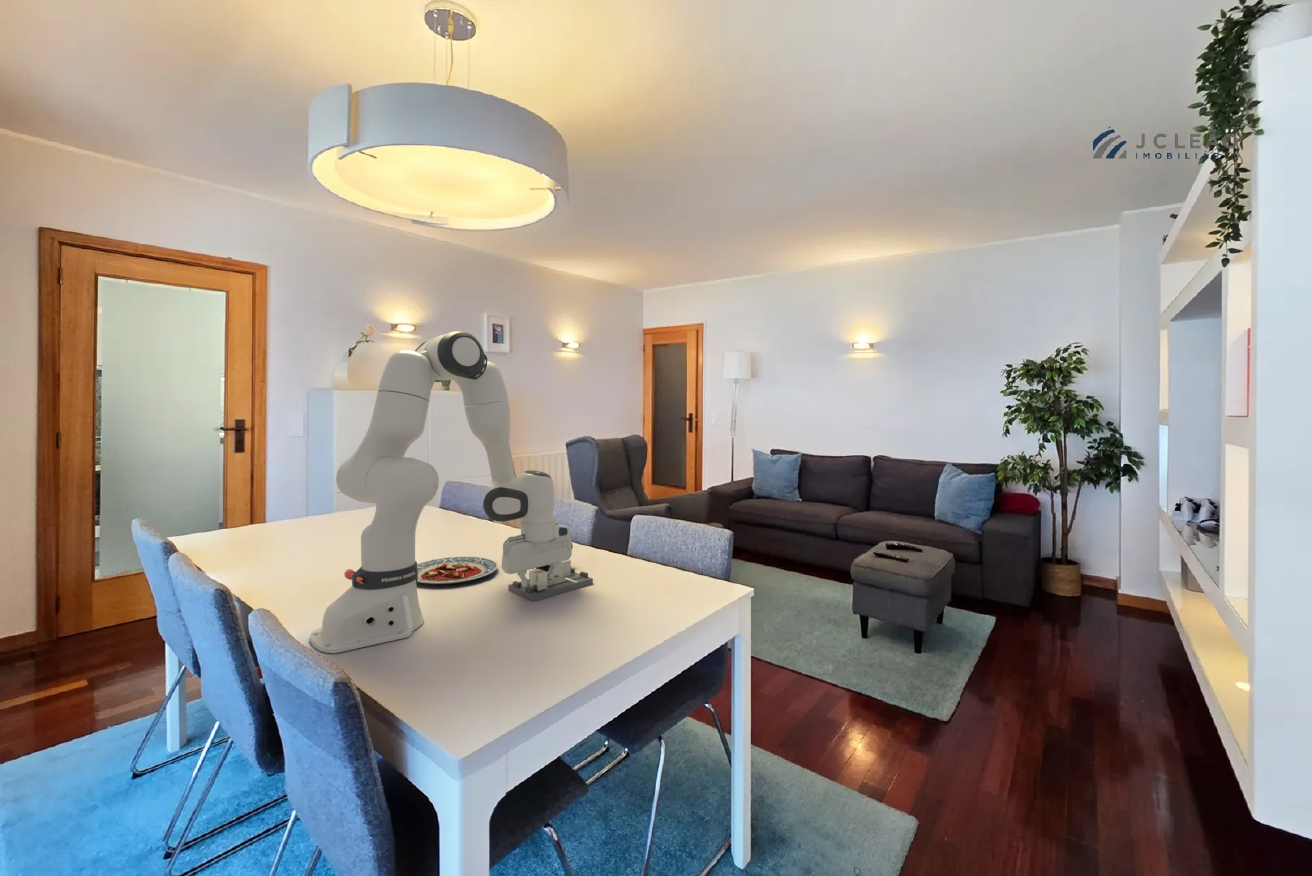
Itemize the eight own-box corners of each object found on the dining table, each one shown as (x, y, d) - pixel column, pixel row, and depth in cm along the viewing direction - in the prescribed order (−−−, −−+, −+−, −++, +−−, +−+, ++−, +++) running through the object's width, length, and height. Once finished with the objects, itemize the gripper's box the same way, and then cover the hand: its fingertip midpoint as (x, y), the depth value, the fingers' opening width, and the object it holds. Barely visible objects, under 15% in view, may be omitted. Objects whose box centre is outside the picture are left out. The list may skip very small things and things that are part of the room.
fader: (537, 590, 143) (537, 573, 143) (529, 587, 146) (529, 570, 146) (547, 588, 146) (547, 571, 145) (538, 584, 148) (538, 568, 148)
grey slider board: (533, 601, 141) (533, 578, 141) (508, 590, 150) (508, 569, 149) (592, 583, 156) (592, 563, 156) (566, 574, 164) (566, 555, 164)
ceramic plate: (469, 593, 148) (468, 582, 148) (385, 586, 153) (385, 575, 153) (512, 566, 173) (512, 557, 173) (439, 560, 178) (439, 551, 178)
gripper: (510, 540, 135) (510, 595, 136) (575, 527, 150) (575, 576, 151) (496, 536, 140) (496, 589, 141) (561, 524, 155) (561, 572, 156)
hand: (538, 582), depth 146 cm, fingers open, 6 cm apart
